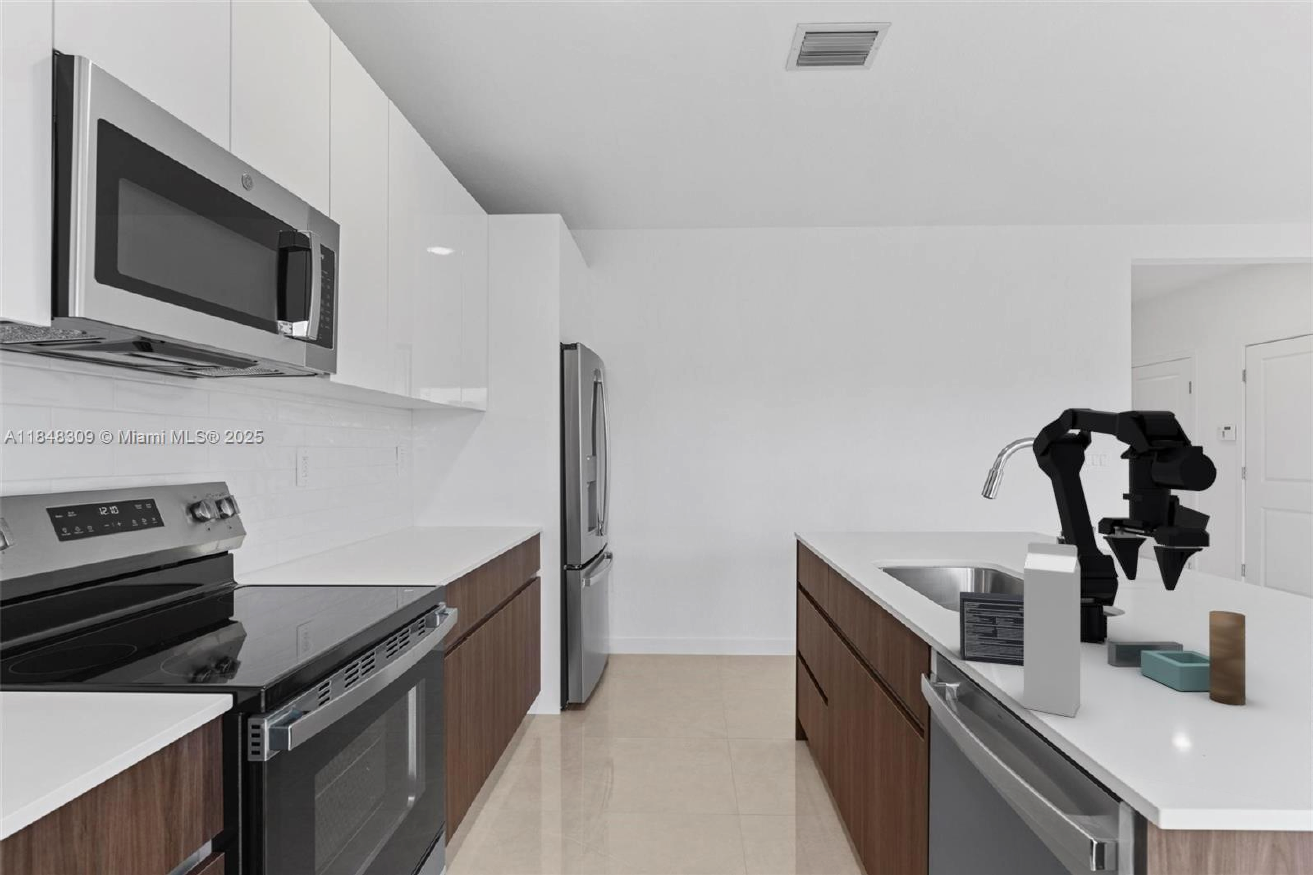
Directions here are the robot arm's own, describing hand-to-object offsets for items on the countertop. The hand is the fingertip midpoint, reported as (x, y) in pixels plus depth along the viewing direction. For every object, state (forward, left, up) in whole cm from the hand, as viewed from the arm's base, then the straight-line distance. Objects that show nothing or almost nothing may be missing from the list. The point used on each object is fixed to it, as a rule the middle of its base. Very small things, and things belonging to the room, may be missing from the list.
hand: (1150, 585), depth 121 cm
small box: (-23, -7, -13) cm, 27 cm away
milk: (-15, -29, -13) cm, 35 cm away
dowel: (+7, -15, -13) cm, 21 cm away
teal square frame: (+4, -8, -13) cm, 16 cm away
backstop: (-1, 0, -13) cm, 13 cm away
